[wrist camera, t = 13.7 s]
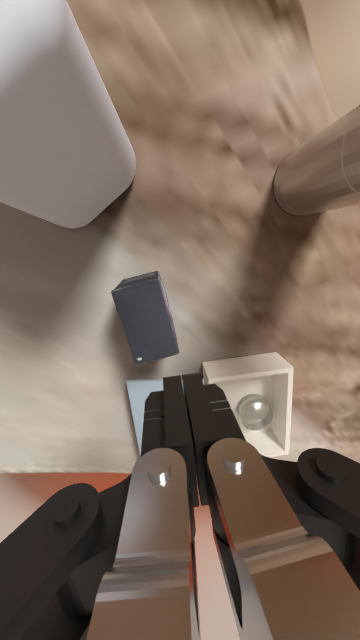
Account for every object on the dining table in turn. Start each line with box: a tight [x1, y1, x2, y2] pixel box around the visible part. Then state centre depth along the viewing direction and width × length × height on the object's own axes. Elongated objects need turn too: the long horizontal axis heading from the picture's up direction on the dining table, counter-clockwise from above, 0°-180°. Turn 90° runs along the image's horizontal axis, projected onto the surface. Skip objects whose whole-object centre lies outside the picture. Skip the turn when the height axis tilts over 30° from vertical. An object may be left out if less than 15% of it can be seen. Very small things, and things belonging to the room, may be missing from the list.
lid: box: [126, 379, 205, 456], centre depth 42 cm, size 13×18×1 cm
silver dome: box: [237, 394, 273, 430], centre depth 46 cm, size 6×6×3 cm
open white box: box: [202, 352, 293, 457], centre depth 44 cm, size 14×18×6 cm
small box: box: [111, 271, 179, 365], centre depth 35 cm, size 11×6×10 cm, turn 14°
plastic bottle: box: [0, 0, 136, 228], centre depth 20 cm, size 15×15×28 cm
